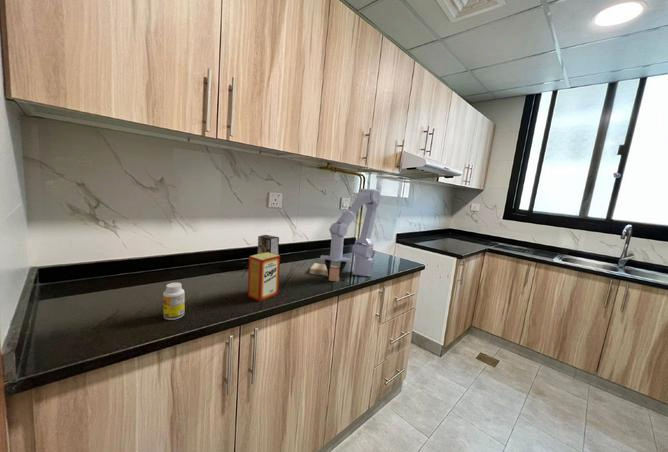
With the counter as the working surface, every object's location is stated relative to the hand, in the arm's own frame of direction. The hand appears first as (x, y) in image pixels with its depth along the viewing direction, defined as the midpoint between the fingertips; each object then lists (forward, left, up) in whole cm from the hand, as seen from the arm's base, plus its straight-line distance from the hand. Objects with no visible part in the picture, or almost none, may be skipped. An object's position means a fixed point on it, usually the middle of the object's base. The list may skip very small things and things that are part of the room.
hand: (334, 276), depth 123 cm
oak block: (+8, -9, -2) cm, 12 cm away
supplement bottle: (+43, +50, -2) cm, 66 cm away
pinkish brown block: (0, 0, -2) cm, 2 cm away
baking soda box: (+24, +27, -2) cm, 36 cm away
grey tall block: (+36, -6, -2) cm, 37 cm away
